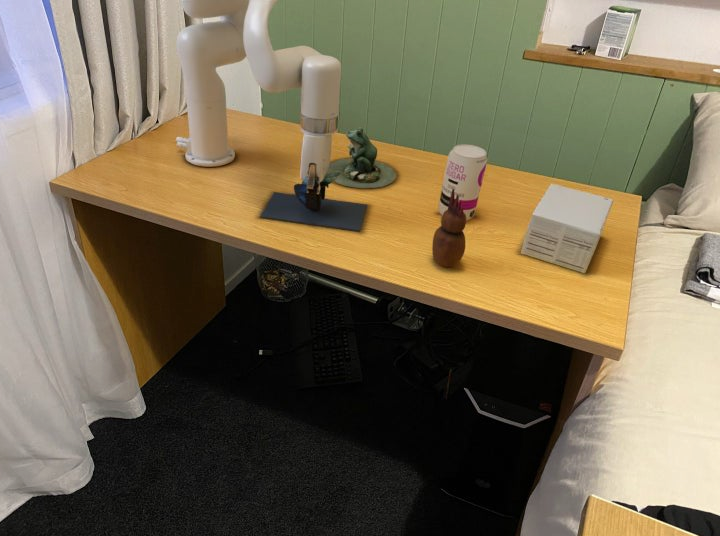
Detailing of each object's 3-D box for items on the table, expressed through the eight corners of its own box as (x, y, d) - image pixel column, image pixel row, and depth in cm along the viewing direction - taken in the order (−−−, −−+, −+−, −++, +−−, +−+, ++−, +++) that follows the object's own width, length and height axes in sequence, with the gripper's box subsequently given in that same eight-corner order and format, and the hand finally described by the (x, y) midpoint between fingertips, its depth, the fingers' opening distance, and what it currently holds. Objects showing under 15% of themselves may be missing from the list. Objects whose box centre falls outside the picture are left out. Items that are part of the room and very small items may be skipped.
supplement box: (538, 220, 129) (550, 182, 123) (599, 237, 124) (615, 198, 118) (518, 253, 117) (531, 213, 111) (585, 274, 112) (601, 233, 106)
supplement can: (475, 209, 132) (490, 147, 122) (471, 225, 125) (486, 161, 116) (440, 202, 133) (453, 140, 124) (434, 218, 127) (447, 154, 118)
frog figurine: (331, 155, 152) (334, 111, 145) (399, 163, 150) (405, 120, 143) (318, 183, 138) (320, 137, 131) (392, 193, 136) (398, 146, 129)
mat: (259, 217, 124) (259, 216, 123) (274, 193, 133) (274, 191, 133) (360, 231, 121) (360, 230, 121) (367, 206, 130) (367, 204, 130)
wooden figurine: (426, 252, 115) (439, 185, 106) (454, 252, 116) (469, 185, 107) (434, 271, 110) (448, 202, 101) (463, 271, 111) (480, 202, 102)
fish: (335, 218, 124) (338, 175, 118) (290, 211, 126) (291, 169, 120) (339, 208, 128) (342, 167, 122) (295, 202, 129) (296, 161, 123)
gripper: (309, 106, 122) (306, 185, 133) (291, 135, 109) (289, 219, 120) (344, 110, 121) (338, 189, 132) (329, 139, 108) (324, 224, 119)
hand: (315, 202), depth 126 cm, fingers closed on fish, 4 cm apart
